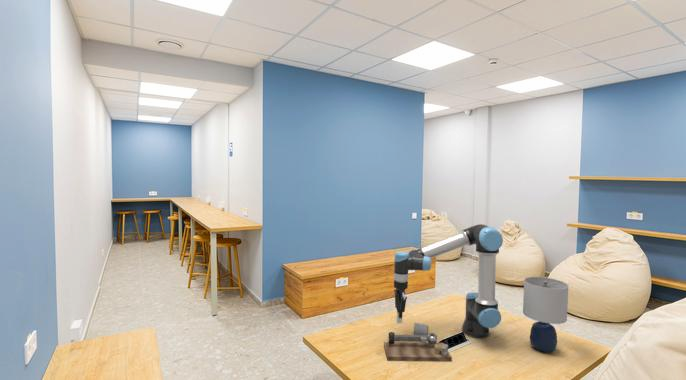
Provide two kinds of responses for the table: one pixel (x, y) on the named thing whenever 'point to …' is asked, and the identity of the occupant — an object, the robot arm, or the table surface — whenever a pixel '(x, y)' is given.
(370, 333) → the table surface
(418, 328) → the ceramic mug
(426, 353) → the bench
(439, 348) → the tan wooden cylinder
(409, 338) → the lever
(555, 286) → the lamp
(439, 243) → the robot arm
